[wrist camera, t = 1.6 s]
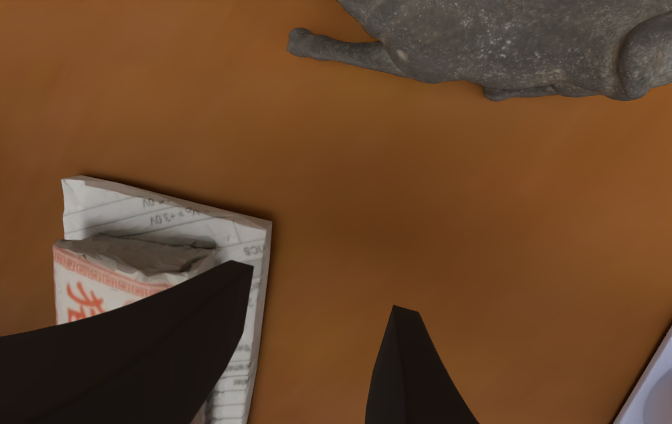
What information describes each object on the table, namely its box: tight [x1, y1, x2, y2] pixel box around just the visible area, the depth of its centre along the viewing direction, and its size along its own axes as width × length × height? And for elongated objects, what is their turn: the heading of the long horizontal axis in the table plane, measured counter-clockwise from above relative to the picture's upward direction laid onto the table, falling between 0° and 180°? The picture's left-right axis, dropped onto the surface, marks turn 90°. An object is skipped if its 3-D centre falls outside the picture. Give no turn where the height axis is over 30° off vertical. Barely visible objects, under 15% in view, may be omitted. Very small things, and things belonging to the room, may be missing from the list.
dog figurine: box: [287, 0, 672, 101], centre depth 13 cm, size 12×6×7 cm, turn 80°
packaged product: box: [53, 175, 272, 424], centre depth 22 cm, size 18×5×10 cm
